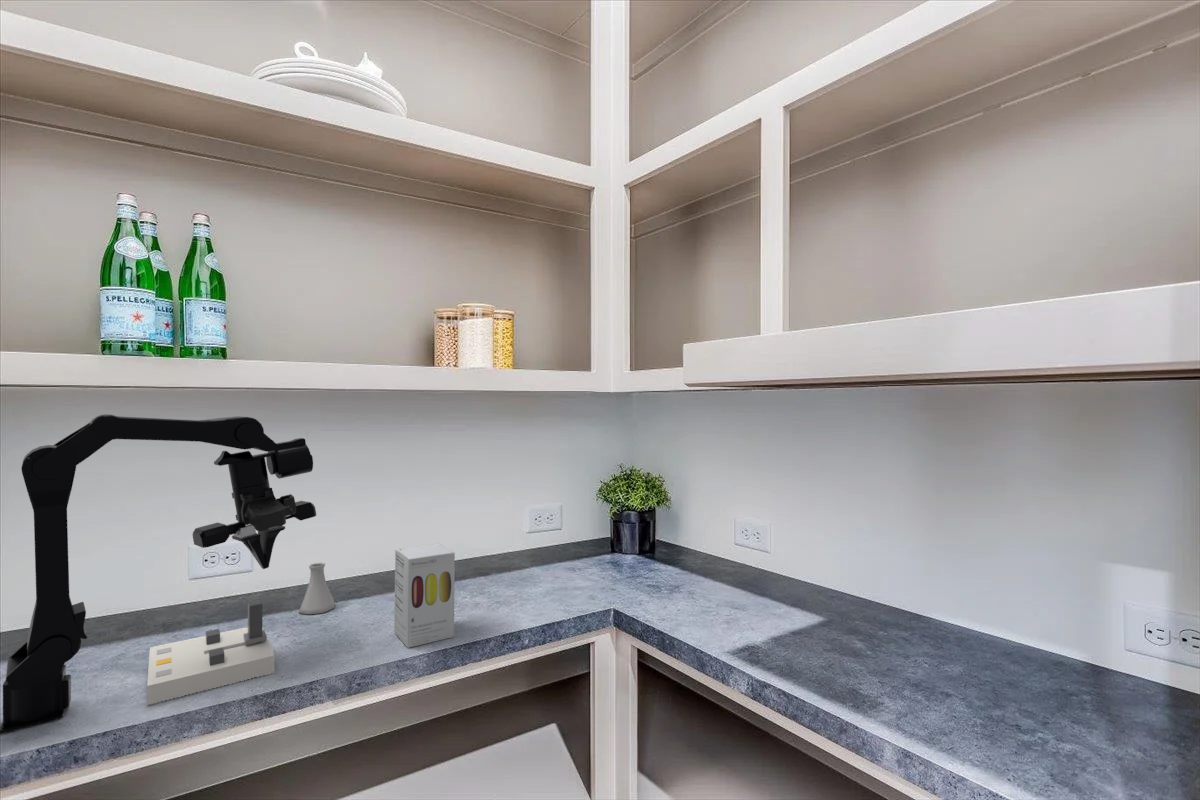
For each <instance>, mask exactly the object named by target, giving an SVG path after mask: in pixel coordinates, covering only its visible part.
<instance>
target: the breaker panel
mask: <svg viewBox="0 0 1200 800" xmlns="http://www.w3.org/2000/svg"><path fill="white" fill-rule="evenodd" d="M262 630H264V631H265V629H264V627H263V626H262ZM245 633H248V626H247V627H242V628H236V629H231V630H227V631H222V632H220V628H216V629H211V630H206V631H205V635H204V636H202V635H201V636H198V637H193V638H188V639H184V640H179V641H173V642H170V643H164V644H159V645H154V646H150V647H149V656H148V657H149V659H148V671H147V683H146V685H147V686H146V706H150V705H149V704H151V705H154V704H153V703H155V704H158V703H157V702H159V703H162V702H161V701H163V702H166V701H165V700H167V701H170V700H169V699H171V700H174V699H173V698H175V699H177V698H176V697H179V698H181V697H180V696H183V697H185V696H184V695H187V696H189V695H188V694H190V695H193V694H192V693H194V694H196V693H195V692H198V693H200V692H199V691H202V692H204V691H203V690H206V691H209V690H208V689H210V690H213V689H212V688H214V689H216V688H215V687H218V688H220V686H222V687H225V686H224V685H226V686H228V685H227V684H229V685H233V684H236V682H237V683H240V682H239V681H241V682H245V681H248V680H247V679H249V680H252V679H251V678H253V679H255V678H254V677H257V678H260V677H259V676H261V677H263V676H262V675H265V676H267V675H266V674H269V673H272V674H275V653H274V651H273V648H272V646H271V644H270V642H269V641H270V640H269V639H268V638H267V640H266V641H262V642H257V643H253V644H248V645H246V644H245V641H244V634H245ZM269 675H270V674H269ZM244 680H245V681H244ZM232 683H233V684H232Z"/></svg>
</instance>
